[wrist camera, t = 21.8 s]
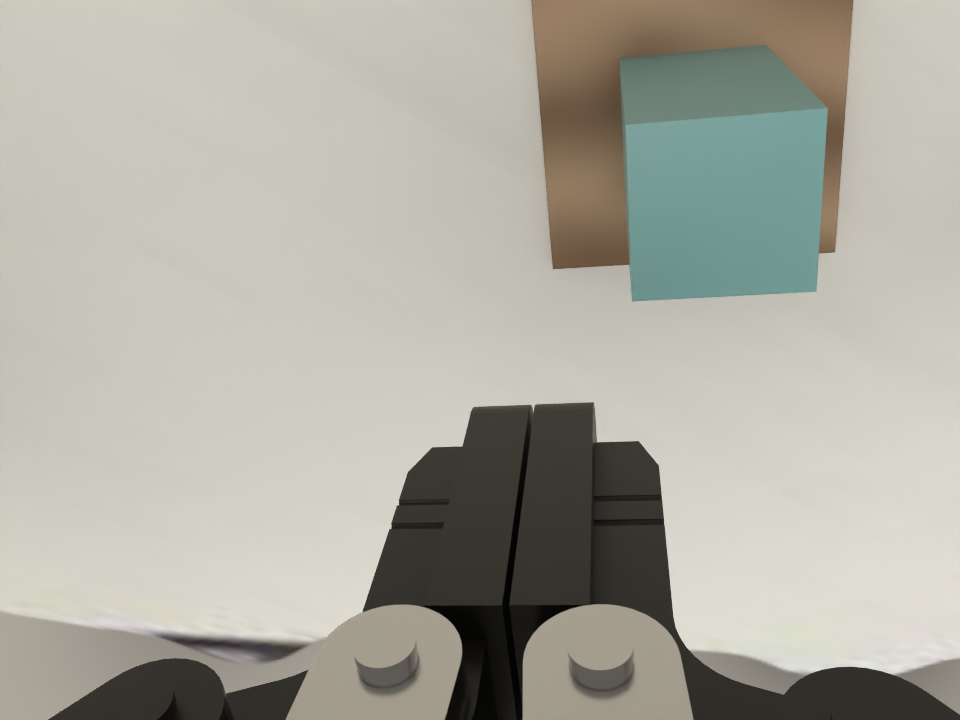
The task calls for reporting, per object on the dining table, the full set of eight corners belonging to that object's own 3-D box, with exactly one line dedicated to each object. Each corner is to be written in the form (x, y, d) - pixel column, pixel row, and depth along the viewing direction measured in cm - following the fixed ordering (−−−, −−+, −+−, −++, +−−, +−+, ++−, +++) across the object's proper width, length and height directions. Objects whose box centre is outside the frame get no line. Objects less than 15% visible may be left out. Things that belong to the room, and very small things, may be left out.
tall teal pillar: (761, 184, 38) (816, 291, 28) (624, 194, 38) (632, 301, 29) (765, 44, 35) (828, 108, 25) (619, 58, 36) (625, 125, 26)
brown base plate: (830, 245, 39) (878, 323, 32) (553, 262, 41) (544, 339, 34) (851, -58, 34) (915, -41, 27) (531, -23, 36) (514, 2, 29)
